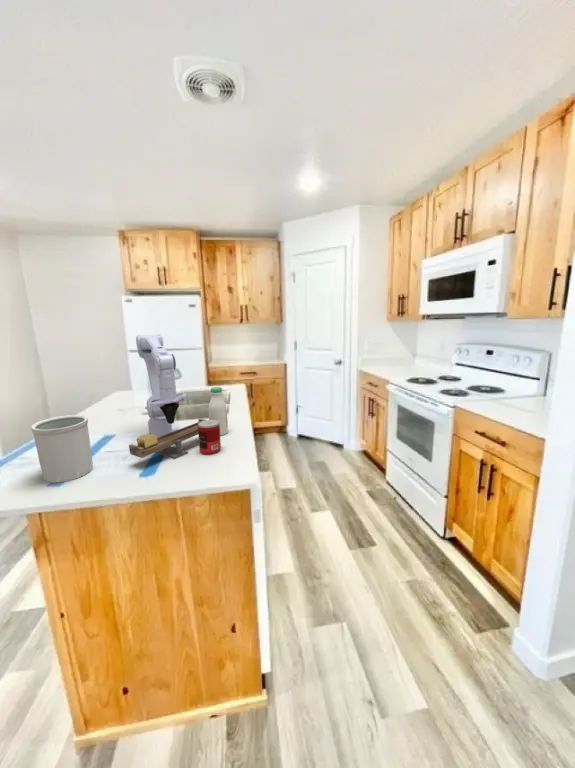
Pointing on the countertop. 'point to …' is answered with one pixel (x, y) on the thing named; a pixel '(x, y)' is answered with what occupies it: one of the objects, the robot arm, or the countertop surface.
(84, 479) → the countertop surface
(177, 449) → the stand
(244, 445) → the countertop surface
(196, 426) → the beam
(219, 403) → the milk bottle
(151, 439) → the block
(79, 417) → the utensil holder
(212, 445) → the canned food
